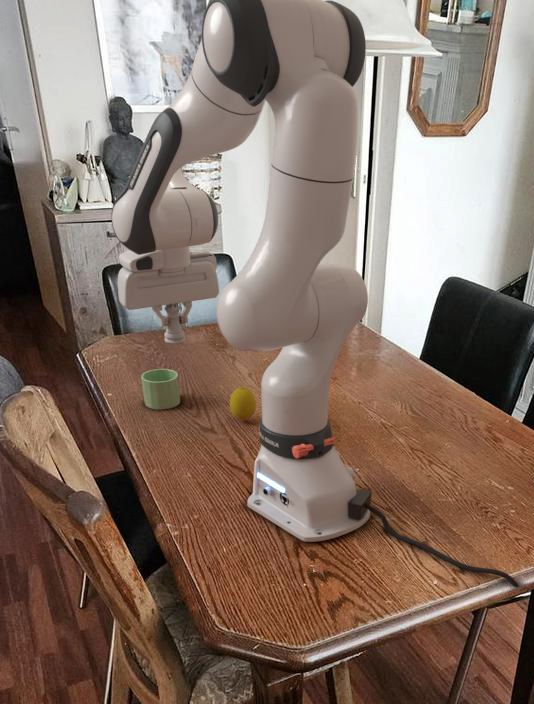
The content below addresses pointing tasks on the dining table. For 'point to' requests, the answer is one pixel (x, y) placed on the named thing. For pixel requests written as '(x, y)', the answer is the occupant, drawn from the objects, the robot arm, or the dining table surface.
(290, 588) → the dining table surface
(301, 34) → the robot arm
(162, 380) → the cup
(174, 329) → the rook chess piece
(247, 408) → the lemon
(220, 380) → the dining table surface
